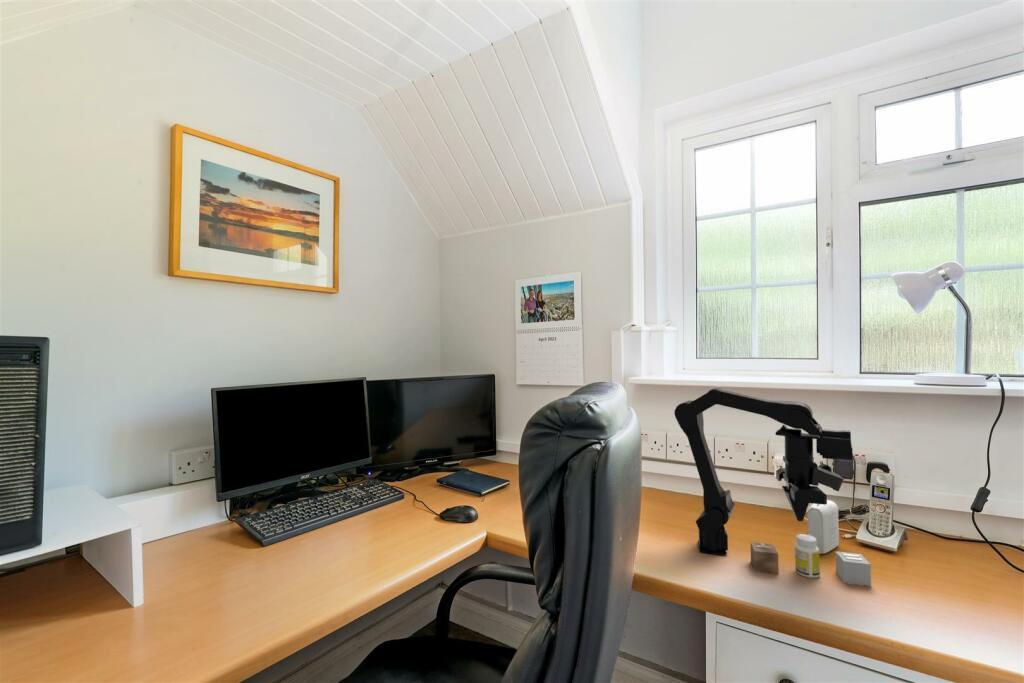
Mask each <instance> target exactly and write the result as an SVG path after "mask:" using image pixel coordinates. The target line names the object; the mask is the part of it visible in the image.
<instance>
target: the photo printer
mask: <svg viewBox="0 0 1024 683" xmlns="http://www.w3.org/2000/svg"><path fill="white" fill-rule="evenodd" d="M839 528H840V527H839V508H838V505H837V503H835V502H834V500H829V499H827V504H825V505H824V504H813V503H811V506H810V507H809V508H808V509H807V535H810V536H813V537H815V538H816V540H817V547H818V549H819V555H822V554H827V553H829V552H830V551H832V550H834V549H835V548H837V547H838V546H839V545H840V544H839V543H840V532H839Z"/></svg>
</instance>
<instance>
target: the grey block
mask: <svg viewBox="0 0 1024 683" xmlns="http://www.w3.org/2000/svg"><path fill="white" fill-rule="evenodd" d="M871 569H872V567H871V562H869V561H868V560H867V559H866V558H865V556H863V554H861V553H854V552H845V551H838V550H837V551H835V573H836V574H837V576H838V577H839V578H840V579H841V581H842V580H843V581H842V582H843V583H844V584H847V583H850V584H849V585H855V584H858V585H857V586H863V585H867V586H866V587H872V573H871V572H872V570H871Z"/></svg>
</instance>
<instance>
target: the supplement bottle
mask: <svg viewBox="0 0 1024 683" xmlns="http://www.w3.org/2000/svg"><path fill="white" fill-rule="evenodd" d="M795 538H796V540H795V542H796V543H795V544H794V556H795V557H794V559H795V561H794V563H795V571H796V572H797V574H798V575H801V576H803V577H805V578H810V579H816V578H819V577H820V574H821V571H820V568H821V566H820V554H819V549H818V547H817V540H816V538H815V537H813V536H810V535H808V534H806V533H805V534H804V533H803V534H802V533H800V534H797V535H796V537H795Z"/></svg>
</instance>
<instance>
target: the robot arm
mask: <svg viewBox="0 0 1024 683" xmlns="http://www.w3.org/2000/svg"><path fill="white" fill-rule="evenodd" d="M716 405H719V406H722V407H723V406H724V407H728V408H730V409H736V410H740V411H743V412H749V413H753V414H755V415H756V414H757V415H761V416H765V417H767V418H770V419H772V420H774V421H776V422H778V423H780V424H782V426H780V428H778V429H777V430H776V431H775V436H779V437H780V436H781V437H784V456H782V461H783V462H784V467H779V468H778V469H776V471H775V479H776V480H777V481H779V482H782V479H784V482H785V485H781V489H782V490H783V492H784V494H785V496H786V497H785V498H786V499H787V501H788V502H789V503H788V504H789V505H790V508H791V510H792V511H793V514H794V516H795V518H796V520H797V521H798V522H803V521H804V520H805V516H806V513H807V511H808V507H809V504H824V505H825V504H827V500H828V495H827V494H826V493H825V492H824V491H822V489H820V488H819V485H823V486H826V487H827V488H830V489H832V490H833V491H836V492H840V489H841V487H842V485H843V482H844V480H845V479H844V477H842V476H841V475H840V474H837V473H836V472H835V471H833V470H832V466H830V465H829V464H826V463H823V462H822V463H821V464H819V465H818V463H817V462H816V461H814V440H816V444H815V445H816V448H815V449H816V454H819V456H821V457H822V459H827V460H835V461H843V462H853V444H852V437H851V436H852V435H851V434H852V433H851V430H845V429H843V430H835V429H833V430H832V429H823V427H822V426H821V424H820V423H818V421H817V420H816V419H815V418H814V414H813V413H814V412H813V410H812V408H811V407H810V405H808V404H807V403H805V402H802V401H796V400H795V401H792V400H791V401H790V400H769V399H766V398H761V397H756V396H752V395H748V394H742V393H738V392H734V391H730V390H725V389H722V388H719V387H714V388H711V389H710V390H708V392H706V393H705V394H703V395H701V396H699V397H698V398H696V399H694V400H686V401H684V402H681V403H680V404H678V405H676V406H675V409H674V411H673V412H674V417H675V420H676V422H677V424H678V425H679V427H680V429H681V430H682V432H683V433H684V434H685V436H686V437H687V440H688V444H689V448H690V451H691V454H692V456H693V460H694V462H695V463H694V464H695V467H696V469H697V470H696V471H697V473H698V476H699V480H700V482H701V486H702V489H703V490H702V492H703V494H702V495H703V497H702V500H703V501H702V502H703V503H702V504H703V511H702V512H701V513H700V514H699V516H698V518H696V520H695V523H696V525H697V529H698V535H697V536H698V540H697V546H698V551H699V553H703V554H712V555H719V556H727V551H728V549H729V548H728V547H729V545H728V544H729V540H728V536H729V535H728V533H727V530H726V528H725V525H727V523H728V522H729V520H730V519H731V517H732V515H733V513H734V507H735V505H736V504H735V503H734V500H733V498H732V492H731V490H730V489H727V490H725V489H724V488H723V486H721V483H720V481H719V480H720V479H719V477H718V473H717V472H716V468H715V464H714V461H713V457H712V455H711V452H710V449H709V446H708V441H707V439H706V437H705V436H706V435H705V433H704V431H705V430H704V426H705V425H704V424H705V423H704V422H705V421H704V412H705V411H707V410H708V409H710V408H712V407H714V406H716ZM787 426H788V427H787ZM802 431H804V432H802Z"/></svg>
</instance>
